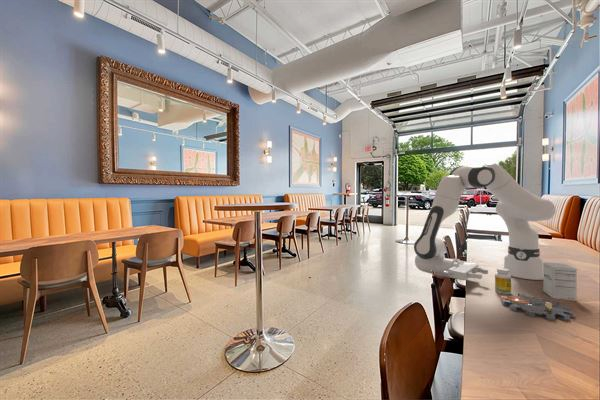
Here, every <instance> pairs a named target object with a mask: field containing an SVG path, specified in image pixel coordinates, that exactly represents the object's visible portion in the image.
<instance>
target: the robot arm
mask: <svg viewBox="0 0 600 400" xmlns="http://www.w3.org/2000/svg"><path fill="white" fill-rule="evenodd" d="M474 188H475V189H482V188H486V189H487V191H488V192H489V193H490V194H492V196H493V197H494V198H495V199H496V200H497V201H498V202H497V204H496V205H495V212H496V213H497V215H498V216H499V217H501V219H502V220H503V222H504V223H505V225H506V228H507V231H508V232H507V233H508V246H507V253H508V254H507V255H505V256H504V261H503V268H505V269H508V270H509V275H510V276H511V277H514V278H517V279H525V280H537V281H539V280H541V281H542V280H543V262H544V261H543V260H542V259H541V258H540V257H541V251H540V248H539V233H538V232H537V230H535V229H534V228H532V227H531V225H530V224H529V221H531V222H543V221H549V220H551V219H552V218H553V217H554V216H555V214H556V207H555V204H554V202H552V201H551V200H548V199H545V198H542V197H541V196H538V195H537V194H536V195H535V194H534V193H532V192H531V191H529V190H527V189H526V188H524V187H523V186H522V185H520V184H519V183H518V182H517V181H516V179H515V178H514V177H512V176H511V174H510V173H509V172H507V170H506V169H504V168H503V167H502V166H500V165H499V164H498V163H495V162H488V163H485V164H483V165H474V164H471V165H470V164H469V165H464V166H463V165H461V166H457V167H455V168H453V169H452V170H451V171H450V173H449V174H448V175H446V176H443V177H442V178H441V180H440V181H439V184H438V186H437V188H436V191H435V194H434V197H433V201H432V204H431V207H430V210H429V212H428V215H427V217H426V220H425V223H424V226H423V229H422V231H421V234H420V235H419V237H418V239H416V241H415V242H414V244H413V250H414V253H415V254H416V256H415V257H414V264H415V267H416V268H417V269H418V271H421V272H423V273H428V274H431V275H433V274H432V271H433V272H435V273H436V274H435V275H439V276H442V277H446V278H449V279H455V280H460V281H466V280H468V279H479V280H481V279H483V274H484V275H488V274H489V270H488V269H485V268H482V267H479V264H477V263H474V262H470V261H467V260H466V261H465V260H461V259H459V258H447V257H444V255H445V252H446V244H445V243H444V241H443V240H441V239H440V238H437V235H438V233H439V230H440V227H441V225H442V223H443V221H444V220H445V219H447V218H448V217H451V216H452V215H453V214H455V213H456V211H457V209H458V207H459V204H460V201H461V197H462V193H463V191H465V189H474ZM431 269H432V271H431Z"/></svg>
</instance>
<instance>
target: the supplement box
mask: <svg viewBox="0 0 600 400" xmlns="http://www.w3.org/2000/svg"><path fill="white" fill-rule="evenodd" d="M577 272H578V270H577V268H576V267H574V266H571V265H568V264H567V263H561V262H560V263H559V262H544V261H543V285H542V286H543V293H545V294H546V295H548V296H549V297H550V298H552V299H557V300H566V301H573V302H574V301H576V302H577V297H578V296H577V293H578V292H577V291H578V290H577V286H578V285H577V281H578V280H577Z"/></svg>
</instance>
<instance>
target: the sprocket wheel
mask: <svg viewBox="0 0 600 400" xmlns="http://www.w3.org/2000/svg"><path fill="white" fill-rule="evenodd" d="M500 302H501V304H502V305H503V306H504V307H509V310H510V311H514V312H516V313H518V312H522V313H525V315H526V316H528V317H532V318H536V317H542V318H544V319H545V320H546V321H547V320H548V321H554V322H555V321H556V319H559V320H562V321H570V319H574V311H572V309H571V307H569V306H568V305H564V304H560V302H559V301H556V300H552V299H549V300H546V299H543V297H541V296H537V295H534V296H528V295H527V294H524V293H523V294H522V293H518V294H517V295H515V294H513V293H510V294H505V295H501V296H500Z"/></svg>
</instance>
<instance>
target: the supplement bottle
mask: <svg viewBox="0 0 600 400" xmlns="http://www.w3.org/2000/svg"><path fill="white" fill-rule="evenodd" d="M494 289H495V291H496V292H497V293H500V294H504V295H506V294H512V276H510V275H509V270H508V269H505V268H504V267H503V268H502V267H497V268H496V273H495V274H494Z"/></svg>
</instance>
